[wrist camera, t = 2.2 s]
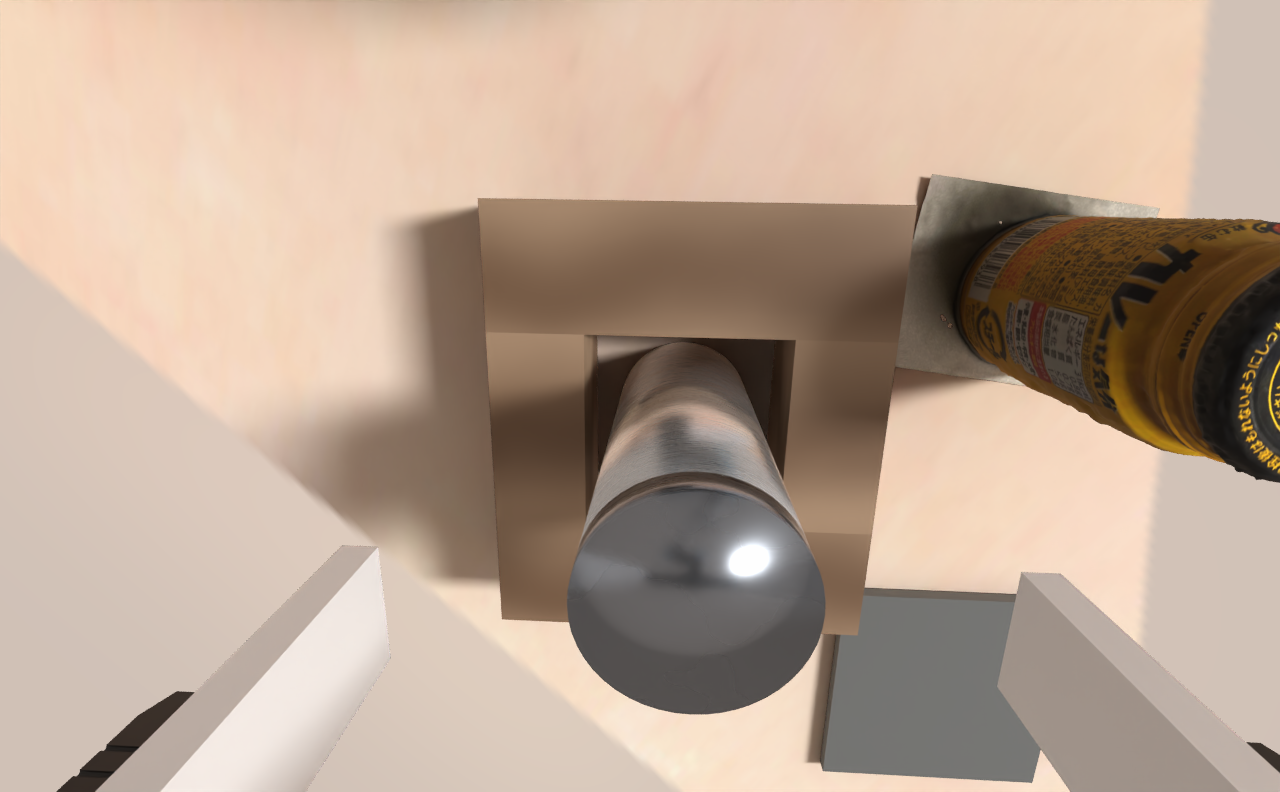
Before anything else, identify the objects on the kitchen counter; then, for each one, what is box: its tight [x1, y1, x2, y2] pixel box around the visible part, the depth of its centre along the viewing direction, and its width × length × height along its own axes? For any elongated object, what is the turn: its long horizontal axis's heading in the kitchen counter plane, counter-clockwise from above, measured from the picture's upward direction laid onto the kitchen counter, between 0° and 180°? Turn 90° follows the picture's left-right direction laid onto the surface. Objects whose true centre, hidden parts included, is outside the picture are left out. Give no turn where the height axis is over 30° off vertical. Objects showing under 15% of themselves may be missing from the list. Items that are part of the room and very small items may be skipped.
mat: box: [820, 588, 1041, 783], centre depth 29 cm, size 10×10×1 cm
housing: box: [478, 198, 918, 635], centre depth 24 cm, size 16×14×4 cm
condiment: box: [895, 174, 1280, 483], centre depth 18 cm, size 7×8×12 cm
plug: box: [567, 342, 826, 714], centre depth 19 cm, size 5×5×14 cm
